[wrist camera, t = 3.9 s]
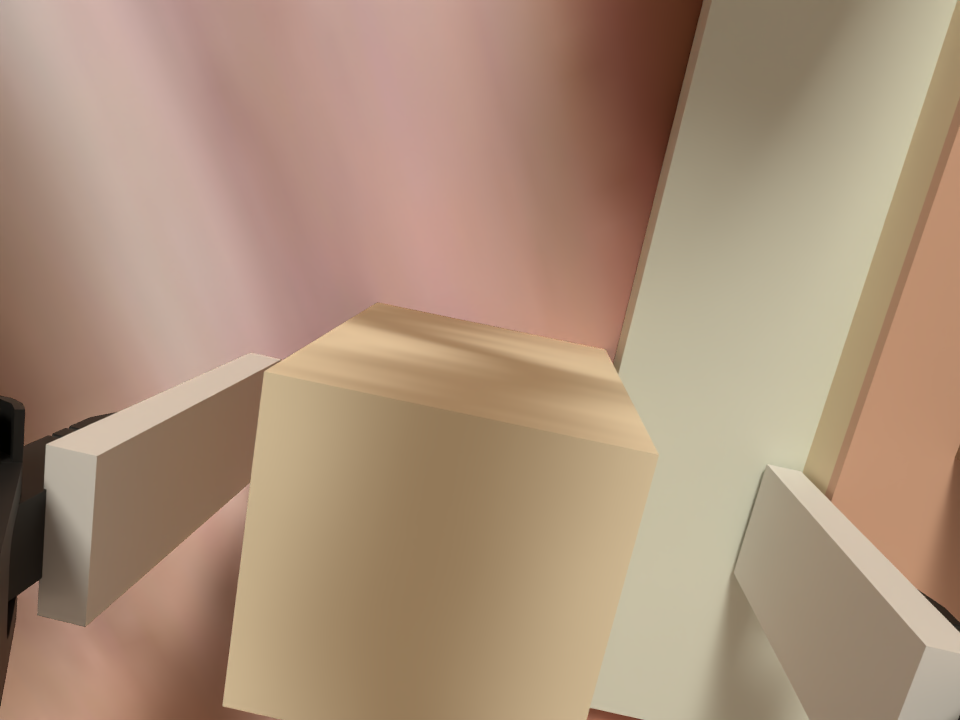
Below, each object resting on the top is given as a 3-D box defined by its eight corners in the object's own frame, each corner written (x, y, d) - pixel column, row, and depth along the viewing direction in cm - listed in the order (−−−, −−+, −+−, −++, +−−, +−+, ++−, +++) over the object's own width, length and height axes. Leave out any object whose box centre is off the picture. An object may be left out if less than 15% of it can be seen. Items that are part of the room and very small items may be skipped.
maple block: (344, 510, 17) (222, 705, 11) (377, 302, 16) (263, 370, 9) (554, 556, 17) (568, 785, 10) (605, 349, 16) (658, 454, 9)
